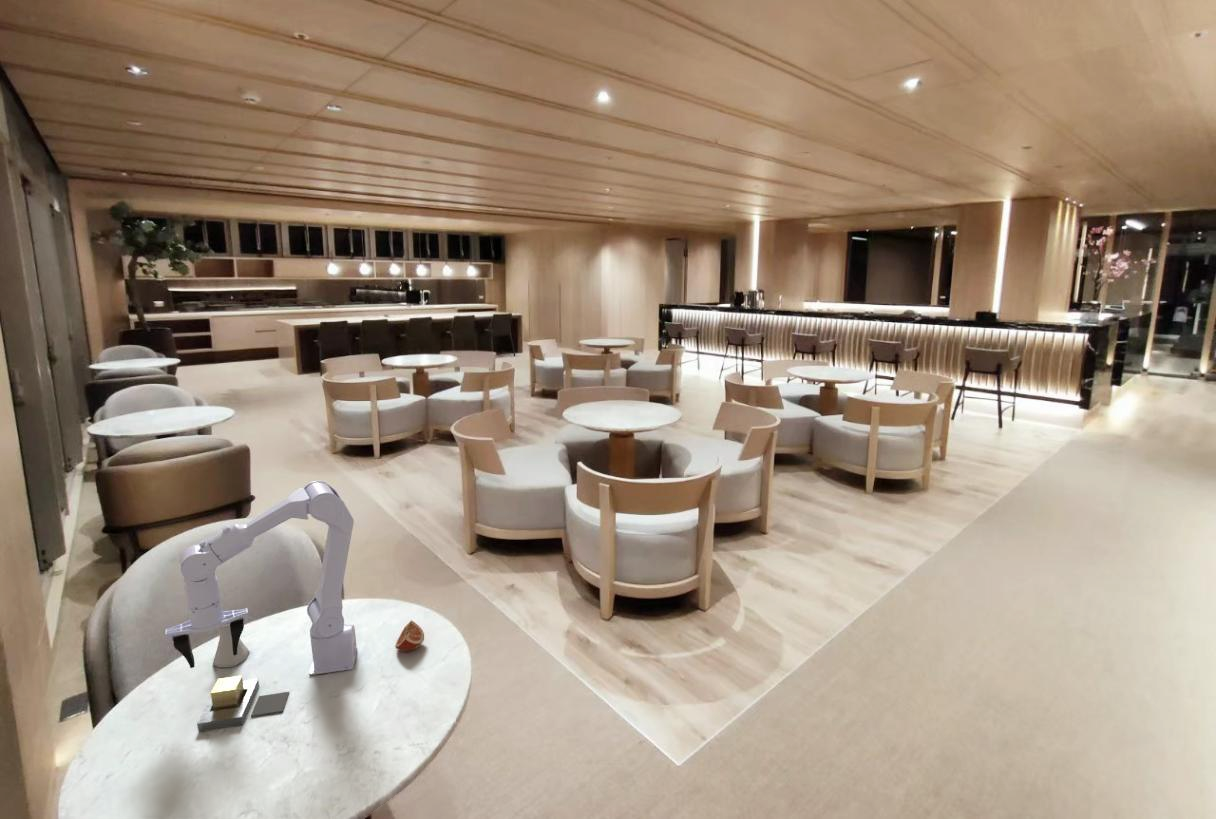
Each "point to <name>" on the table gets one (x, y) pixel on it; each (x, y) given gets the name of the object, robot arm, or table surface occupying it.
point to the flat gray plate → (270, 704)
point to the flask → (228, 650)
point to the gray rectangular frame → (228, 711)
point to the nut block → (228, 693)
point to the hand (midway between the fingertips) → (214, 658)
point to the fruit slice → (410, 637)
